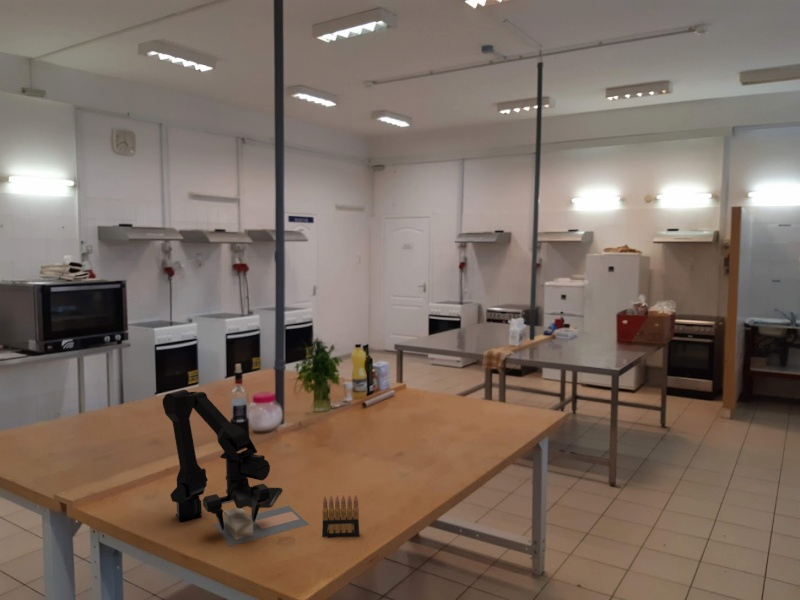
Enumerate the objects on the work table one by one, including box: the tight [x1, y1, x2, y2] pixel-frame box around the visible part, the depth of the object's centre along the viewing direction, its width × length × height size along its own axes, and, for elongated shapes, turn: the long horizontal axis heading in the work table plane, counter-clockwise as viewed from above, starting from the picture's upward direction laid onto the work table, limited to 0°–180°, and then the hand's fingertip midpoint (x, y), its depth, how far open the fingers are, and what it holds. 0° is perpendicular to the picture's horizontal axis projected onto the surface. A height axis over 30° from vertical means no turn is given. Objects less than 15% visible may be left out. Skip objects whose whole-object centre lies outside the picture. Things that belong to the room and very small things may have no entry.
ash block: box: [223, 507, 253, 540], centre depth 178 cm, size 5×11×4 cm, turn 33°
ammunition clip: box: [321, 494, 360, 539], centre depth 175 cm, size 11×2×12 cm, turn 93°
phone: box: [248, 487, 283, 509], centre depth 202 cm, size 8×1×15 cm
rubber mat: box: [213, 505, 310, 547], centre depth 182 cm, size 24×16×1 cm, turn 123°
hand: (238, 525), depth 179 cm, fingers open, 9 cm apart
